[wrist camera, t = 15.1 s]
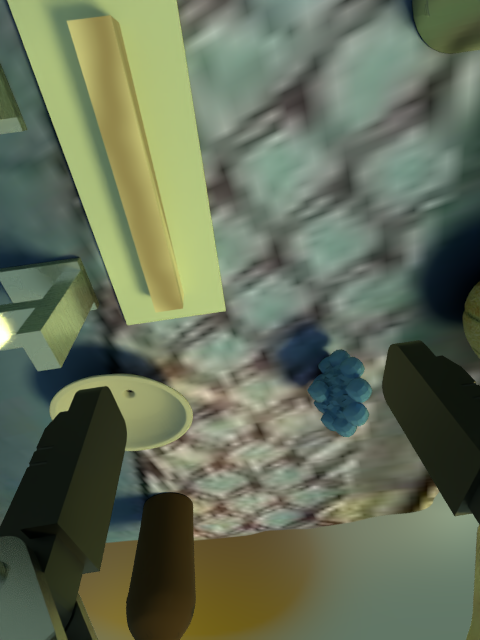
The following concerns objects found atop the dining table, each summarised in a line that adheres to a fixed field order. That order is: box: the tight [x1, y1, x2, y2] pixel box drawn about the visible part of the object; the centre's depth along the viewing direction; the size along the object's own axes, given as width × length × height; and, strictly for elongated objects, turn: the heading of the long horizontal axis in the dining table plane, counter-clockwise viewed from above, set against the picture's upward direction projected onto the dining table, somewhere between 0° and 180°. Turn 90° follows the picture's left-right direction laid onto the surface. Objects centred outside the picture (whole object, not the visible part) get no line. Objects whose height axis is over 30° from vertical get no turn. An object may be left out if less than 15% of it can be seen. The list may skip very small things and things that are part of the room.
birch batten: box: [67, 15, 184, 312], centre depth 31 cm, size 3×24×3 cm, turn 6°
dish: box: [50, 374, 193, 451], centre depth 45 cm, size 18×14×5 cm
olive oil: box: [126, 493, 196, 640], centre depth 55 cm, size 11×11×25 cm
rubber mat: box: [7, 0, 226, 325], centre depth 32 cm, size 12×30×1 cm, turn 6°
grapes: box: [307, 349, 372, 437], centre depth 43 cm, size 12×7×12 cm, turn 171°
